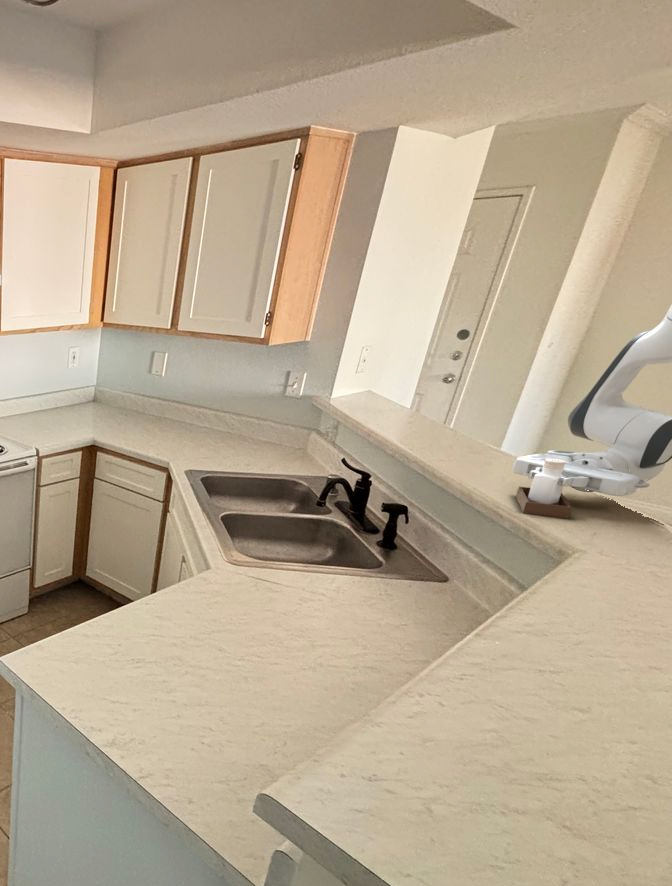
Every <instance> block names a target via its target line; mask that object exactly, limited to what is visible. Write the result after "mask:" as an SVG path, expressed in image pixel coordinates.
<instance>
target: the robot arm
mask: <svg viewBox="0 0 672 886" xmlns="http://www.w3.org/2000/svg"><path fill="white" fill-rule="evenodd" d="M657 364H672V304H671V305H670V307H669V308H668V310H667V312H666V314H665V316H664V317H663V319H662V320H661V322H660V323H659V324H658V325H657V326H655V327H654V328H653V329H651V330H646V331H643V332H641V333H638V334H637V335H635V336H634V337H633V338H632V339H630V340H629V341H628V342H627V343H626V344H625V345H624V347H623V348H622V349H621V350H620V351H619V352H618V354H617V355H616V356H615V357H614V359H613V360H612V361H611V362H610V364H609V365H608V367H607V368H606V369H605V370H604V372H603V373H602V375H601V376H599V379H598V380H597V381H596V383H595V384H594V385H593V387H592V388H591V389H590V391H589V392H588V393H587V394H586V395H585V397H584V398H583V399H582V400H581V401H580V402H579V403H578V404H577V405H576V406H575V407H574V408H573V409H572V410H571V411H570V412H569V415H568V416H567V425H568V428H569V431H570V432H571V434H572V435H573V436H575V437H578V438H582V439H584V440H588V441H592V442H596V443H599V444H602V445H604V446H606V447H608V448H609V447H610V448H609V449H607V450H601V451H578V452H577V451H565V450H556V449H555V450H554V449H553V450H548V451H547V452H546V453H534V454H528V455H522V456H518V457H516V458H515V460H514V463H513V465H512V472H513V473H514V474H517V475H521V476H525V477H528V479H531V480H533V479H534V476H535V474H537V473H541V472H542V470H543V465H544V461H545V459H558V460H563V461H565V462H566V463H565V466H564V469H563V470H562V473H561V475H563V476H564V477H559V479H558V482H557V485H561V486H563V487H566V488H567V487H570V488H572V489H574V490H576V491H578V492H583V493H600V494H604V495H608V496H612V497H613V496H614V497H625V496H628V495H632V494H634V493H636V492H637V489H646V488H649V487H650V483H649V482H648V481H651V480H652V479H654V478H656V477H657V476H659V475H660V474H661V472H662V471H663V470H664V468H665V465H666V463H668V462H669V461H671V460H672V415H669V414H666V413H663V412H661V411H657V410H654V409H653V410H652V409H649V408H646V407H643V406H641V405H637V404H633V403H630V402H627V401H626V400H624V399H623V393H624V392H625V391H626V390H627V388H628V387H629V386H630V385H631V384H632V382H633V381H634V379H636V377H637V376H638V374H639V373H640V372H641V371H642V370H643V369H644V368H645V367H646V366H648V365H657ZM585 489H586V490H585ZM587 490H589V491H587Z"/></svg>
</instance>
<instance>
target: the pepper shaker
mask: <svg viewBox="0 0 672 886" xmlns="http://www.w3.org/2000/svg"><path fill="white" fill-rule="evenodd" d="M565 463H566V462H565V461H563V460H558V459H545V461H544V465H543V470H542V472H541V473H537V474H535V476H534V479H532V482H531V485H530V487H529V488H530V492H529V495H528V500H530V501H533V502H537V503H544V504H553V503H557V502H558V501H559V498H560V495H561V493H562V492H563V489H564V486H561V485H557V482H558V479H559V477H564V476H563V475H561V473H562V470H563V469H564V466H565Z"/></svg>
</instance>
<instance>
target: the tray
mask: <svg viewBox="0 0 672 886" xmlns="http://www.w3.org/2000/svg"><path fill="white" fill-rule="evenodd" d="M530 488H531V487H527V486H518V488H517V491H516V493H515V498H516V500H517V502H518V505H519V507H520V509H521V512H522V513H523V514H531V515H538V516H545V517H553V518H562V519H569V517H570V513H571V510H572V505H570V503H569V501H568V500H567V499H566V497H565V495H564V494H563V493H562V492H561V495H560V498H559V501H558V502H557V503H553V504H544V503H537V502H533V501H530V500H528V495H529V492H530Z"/></svg>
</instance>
